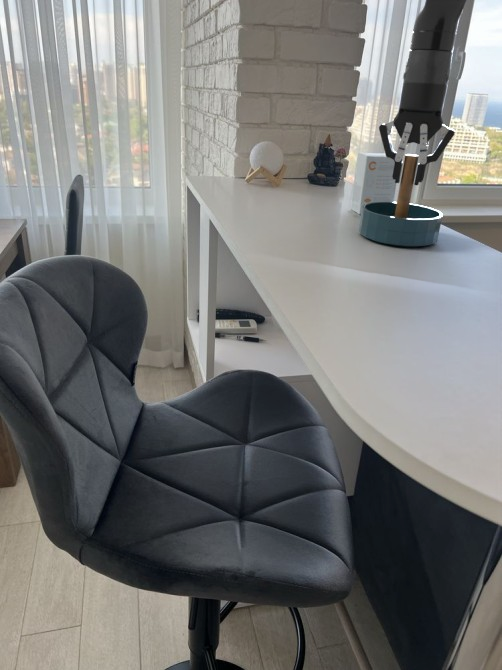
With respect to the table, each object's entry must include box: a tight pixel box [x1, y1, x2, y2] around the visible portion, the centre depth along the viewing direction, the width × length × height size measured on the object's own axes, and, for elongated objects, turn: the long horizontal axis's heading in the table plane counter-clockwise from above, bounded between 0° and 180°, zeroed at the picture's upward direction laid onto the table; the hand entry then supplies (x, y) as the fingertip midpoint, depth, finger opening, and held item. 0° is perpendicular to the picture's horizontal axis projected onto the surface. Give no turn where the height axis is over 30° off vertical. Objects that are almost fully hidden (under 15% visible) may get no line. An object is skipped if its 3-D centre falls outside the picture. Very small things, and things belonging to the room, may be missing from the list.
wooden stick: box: [394, 153, 420, 218], centre depth 96 cm, size 2×2×15 cm
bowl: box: [358, 201, 444, 248], centre depth 99 cm, size 15×15×6 cm
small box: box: [350, 152, 397, 215], centre depth 117 cm, size 8×6×13 cm
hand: (406, 183), depth 95 cm, fingers open, 3 cm apart
